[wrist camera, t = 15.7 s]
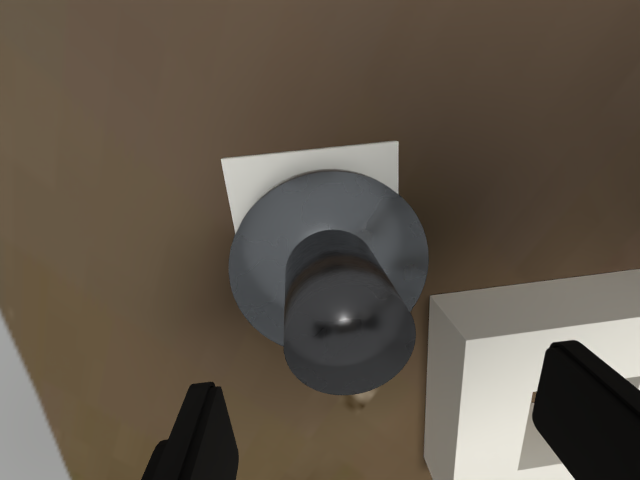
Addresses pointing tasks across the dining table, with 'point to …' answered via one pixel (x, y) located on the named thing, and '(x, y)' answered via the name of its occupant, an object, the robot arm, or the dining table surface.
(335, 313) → the grey round knobbed piece
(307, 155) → the mat
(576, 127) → the dining table surface
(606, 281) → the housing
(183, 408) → the robot arm
